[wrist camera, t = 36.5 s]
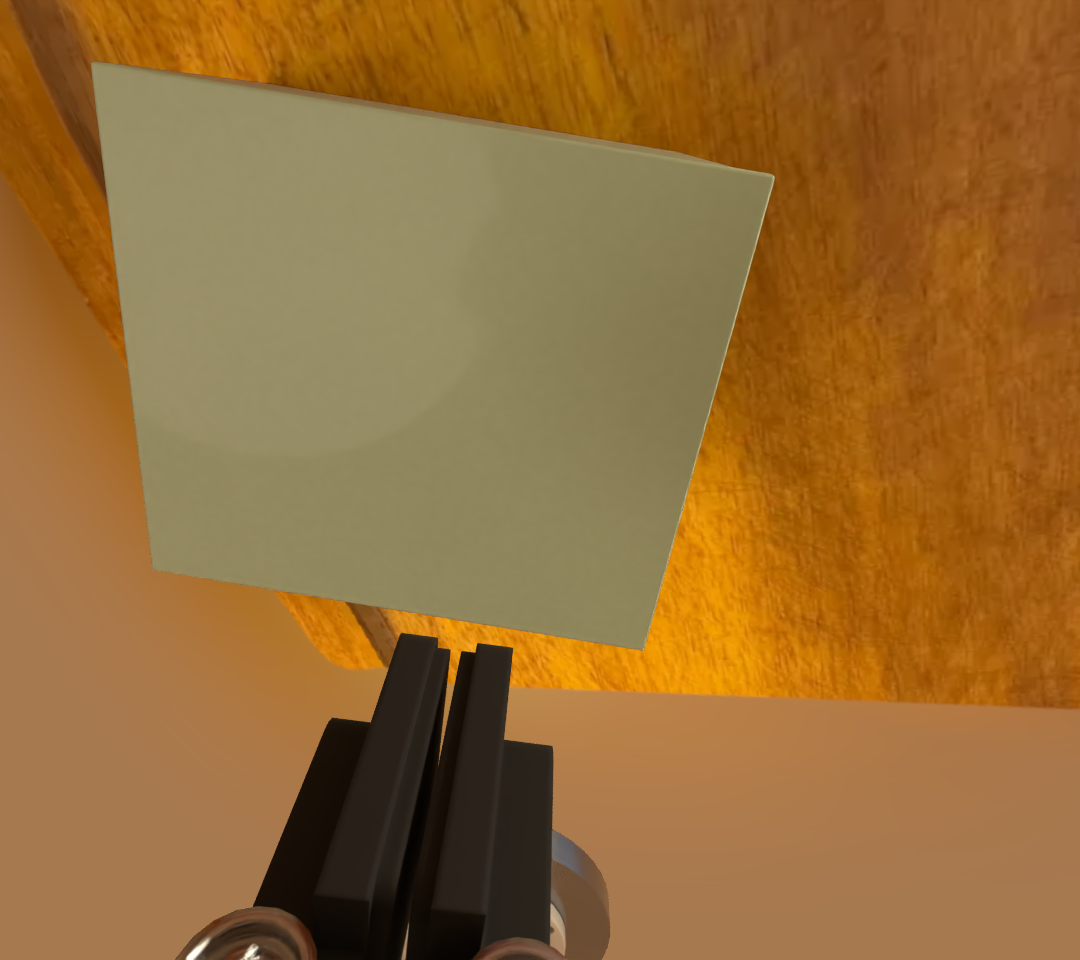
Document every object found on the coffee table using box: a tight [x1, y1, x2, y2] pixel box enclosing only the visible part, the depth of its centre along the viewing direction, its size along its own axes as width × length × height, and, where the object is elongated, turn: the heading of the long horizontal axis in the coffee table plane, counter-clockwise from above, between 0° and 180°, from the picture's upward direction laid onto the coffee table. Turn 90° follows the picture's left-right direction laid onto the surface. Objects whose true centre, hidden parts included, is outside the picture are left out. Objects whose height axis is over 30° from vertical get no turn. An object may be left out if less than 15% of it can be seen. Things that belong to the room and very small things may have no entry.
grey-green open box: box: [119, 64, 726, 166], centre depth 25 cm, size 16×15×10 cm
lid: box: [91, 61, 775, 650], centre depth 20 cm, size 16×15×1 cm
